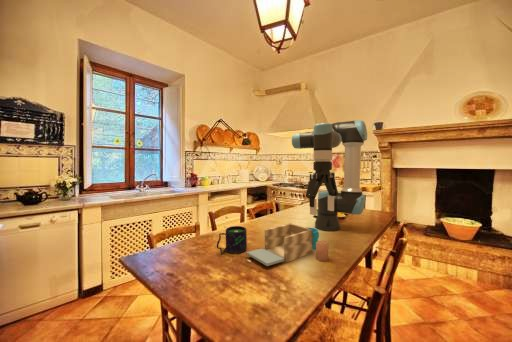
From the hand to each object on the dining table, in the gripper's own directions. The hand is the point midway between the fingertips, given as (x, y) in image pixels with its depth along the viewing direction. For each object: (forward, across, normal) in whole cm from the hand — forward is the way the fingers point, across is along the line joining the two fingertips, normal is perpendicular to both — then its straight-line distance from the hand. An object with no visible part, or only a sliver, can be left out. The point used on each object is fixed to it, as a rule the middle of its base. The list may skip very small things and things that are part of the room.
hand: (322, 212), depth 97 cm
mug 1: (+20, +26, -32) cm, 46 cm away
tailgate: (+19, +15, -14) cm, 28 cm away
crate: (+20, +6, -14) cm, 25 cm away
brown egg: (+20, 0, 0) cm, 20 cm away
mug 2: (+20, -9, -13) cm, 26 cm away
